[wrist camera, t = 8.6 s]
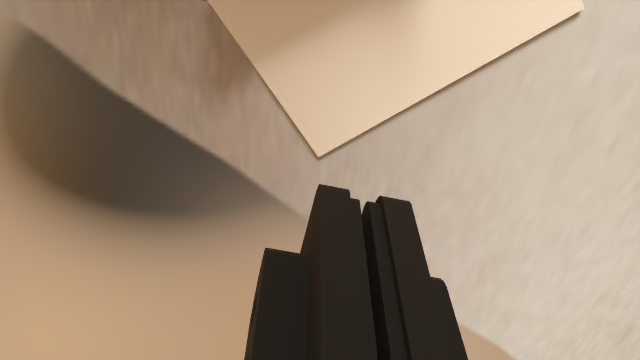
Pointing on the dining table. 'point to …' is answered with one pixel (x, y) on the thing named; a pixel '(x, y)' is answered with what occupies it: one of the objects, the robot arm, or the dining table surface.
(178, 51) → the dining table surface
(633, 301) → the dining table surface
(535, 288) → the dining table surface
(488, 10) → the card
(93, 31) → the dining table surface
